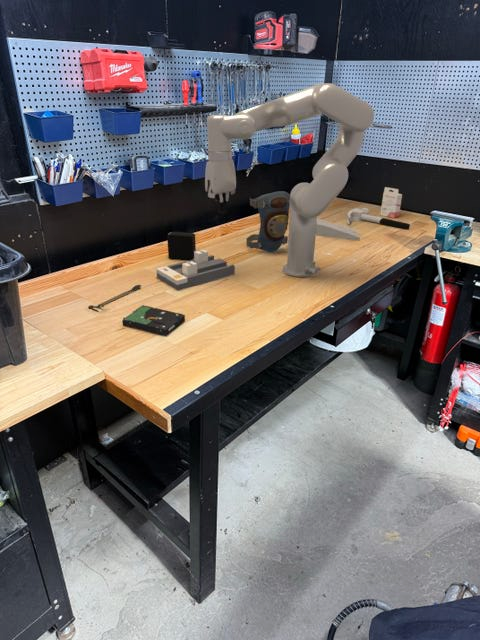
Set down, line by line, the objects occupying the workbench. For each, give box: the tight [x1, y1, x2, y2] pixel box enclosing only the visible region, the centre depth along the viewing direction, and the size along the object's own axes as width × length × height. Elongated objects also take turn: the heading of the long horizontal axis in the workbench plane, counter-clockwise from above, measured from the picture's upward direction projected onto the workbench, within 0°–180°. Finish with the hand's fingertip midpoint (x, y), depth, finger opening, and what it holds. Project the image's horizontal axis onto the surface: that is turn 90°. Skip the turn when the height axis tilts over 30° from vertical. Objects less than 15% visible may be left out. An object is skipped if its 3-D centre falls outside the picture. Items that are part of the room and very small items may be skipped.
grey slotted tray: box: [156, 254, 236, 291], centre depth 162 cm, size 14×24×4 cm, turn 128°
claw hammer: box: [346, 207, 411, 231], centre depth 225 cm, size 6×22×30 cm
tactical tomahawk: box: [88, 284, 142, 313], centre depth 145 cm, size 21×7×1 cm, turn 145°
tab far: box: [193, 249, 209, 264], centre depth 166 cm, size 3×4×5 cm
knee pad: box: [245, 190, 291, 253], centre depth 185 cm, size 18×20×25 cm
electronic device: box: [166, 231, 197, 262], centre depth 177 cm, size 4×10×10 cm, turn 79°
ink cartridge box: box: [380, 186, 403, 219], centre depth 238 cm, size 9×5×15 cm, turn 43°
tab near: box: [182, 261, 197, 277], centre depth 155 cm, size 3×4×5 cm
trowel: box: [316, 218, 361, 241], centre depth 210 cm, size 28×16×5 cm, turn 45°
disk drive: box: [121, 304, 186, 337], centre depth 130 cm, size 10×3×15 cm
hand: (222, 212), depth 155 cm, fingers closed
